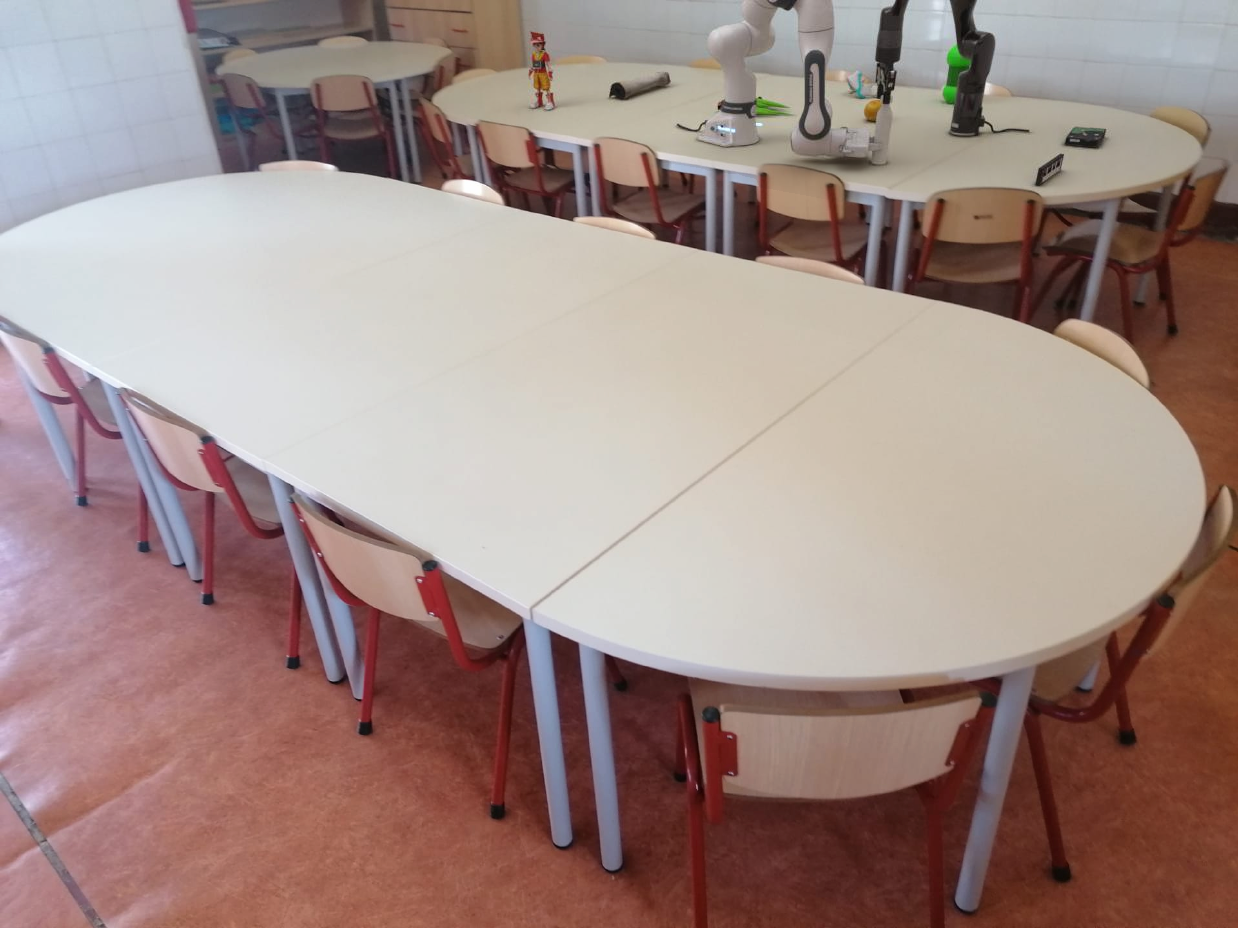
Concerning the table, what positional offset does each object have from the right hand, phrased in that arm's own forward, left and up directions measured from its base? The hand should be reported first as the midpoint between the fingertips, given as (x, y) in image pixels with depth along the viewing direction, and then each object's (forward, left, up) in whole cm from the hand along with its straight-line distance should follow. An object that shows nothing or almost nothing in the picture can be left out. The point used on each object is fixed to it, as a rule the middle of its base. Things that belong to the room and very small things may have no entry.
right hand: (882, 101), depth 286 cm
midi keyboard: (-51, +16, -19) cm, 56 cm away
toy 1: (+136, -75, -19) cm, 156 cm away
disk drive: (-69, -25, -19) cm, 76 cm away
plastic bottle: (-32, -80, -19) cm, 89 cm away
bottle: (-1, +1, -19) cm, 19 cm away
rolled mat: (+98, -102, -19) cm, 142 cm away
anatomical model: (+4, -94, -19) cm, 96 cm away
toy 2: (+44, -66, -19) cm, 81 cm away
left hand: (-2, +1, -13) cm, 13 cm away
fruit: (-1, -53, -19) cm, 56 cm away
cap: (-1, +1, +1) cm, 2 cm away
